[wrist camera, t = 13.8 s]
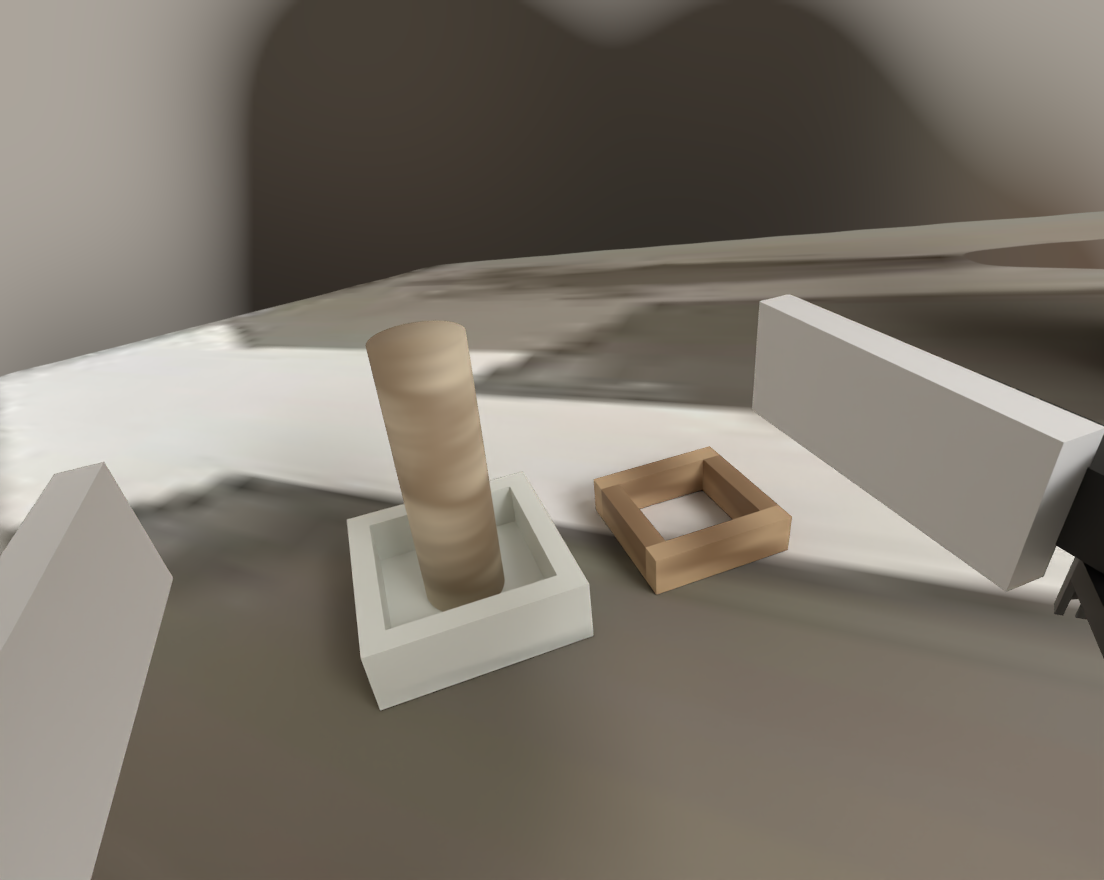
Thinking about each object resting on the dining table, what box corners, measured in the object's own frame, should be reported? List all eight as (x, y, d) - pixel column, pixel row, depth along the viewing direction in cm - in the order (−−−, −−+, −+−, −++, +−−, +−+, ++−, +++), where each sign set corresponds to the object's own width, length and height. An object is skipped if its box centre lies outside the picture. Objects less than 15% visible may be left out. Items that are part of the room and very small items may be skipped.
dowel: (493, 550, 30) (454, 314, 24) (514, 598, 27) (476, 343, 21) (420, 571, 29) (361, 331, 23) (434, 623, 26) (370, 364, 20)
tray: (529, 516, 34) (523, 471, 32) (593, 635, 26) (589, 583, 25) (362, 565, 31) (346, 519, 30) (380, 710, 24) (360, 658, 22)
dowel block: (708, 475, 35) (709, 446, 34) (787, 549, 29) (792, 516, 28) (595, 509, 34) (593, 479, 33) (656, 594, 28) (655, 561, 27)
